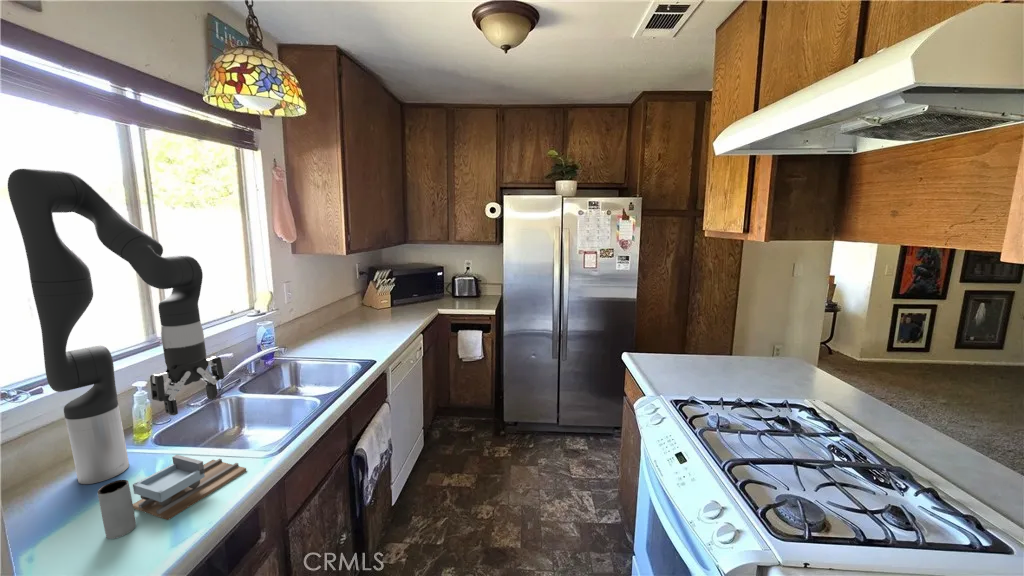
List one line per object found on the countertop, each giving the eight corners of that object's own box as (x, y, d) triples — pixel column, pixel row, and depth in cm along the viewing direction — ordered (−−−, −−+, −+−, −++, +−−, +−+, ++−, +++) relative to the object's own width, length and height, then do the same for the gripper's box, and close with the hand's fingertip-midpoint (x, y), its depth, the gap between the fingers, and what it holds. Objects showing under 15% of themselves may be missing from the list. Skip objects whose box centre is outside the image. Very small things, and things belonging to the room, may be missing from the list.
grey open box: (135, 501, 88) (131, 477, 87) (180, 476, 97) (176, 454, 96) (162, 510, 85) (158, 485, 84) (206, 484, 94) (202, 461, 93)
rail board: (131, 507, 89) (130, 501, 88) (213, 462, 106) (212, 456, 105) (167, 520, 85) (166, 513, 85) (246, 470, 102) (245, 465, 102)
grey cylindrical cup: (117, 540, 80) (108, 495, 78) (100, 537, 80) (91, 492, 79) (142, 524, 84) (134, 480, 82) (125, 521, 85) (117, 478, 83)
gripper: (205, 332, 100) (213, 392, 102) (136, 349, 86) (148, 417, 89) (225, 334, 97) (233, 396, 100) (158, 352, 84) (169, 423, 87)
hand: (193, 406), depth 94 cm, fingers open, 8 cm apart
